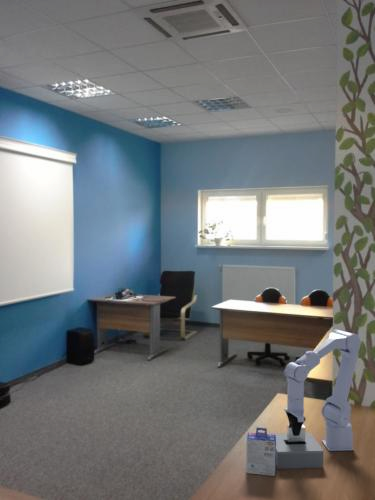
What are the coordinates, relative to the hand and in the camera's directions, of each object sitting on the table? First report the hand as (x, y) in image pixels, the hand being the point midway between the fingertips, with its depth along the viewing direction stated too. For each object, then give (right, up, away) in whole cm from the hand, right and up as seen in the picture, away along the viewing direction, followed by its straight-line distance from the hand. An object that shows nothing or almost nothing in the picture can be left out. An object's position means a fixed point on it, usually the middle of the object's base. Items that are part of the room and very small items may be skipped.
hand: (295, 433), depth 169 cm
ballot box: (0, -9, +1) cm, 9 cm away
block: (0, -2, 0) cm, 2 cm away
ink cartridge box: (-14, -10, -8) cm, 19 cm away
